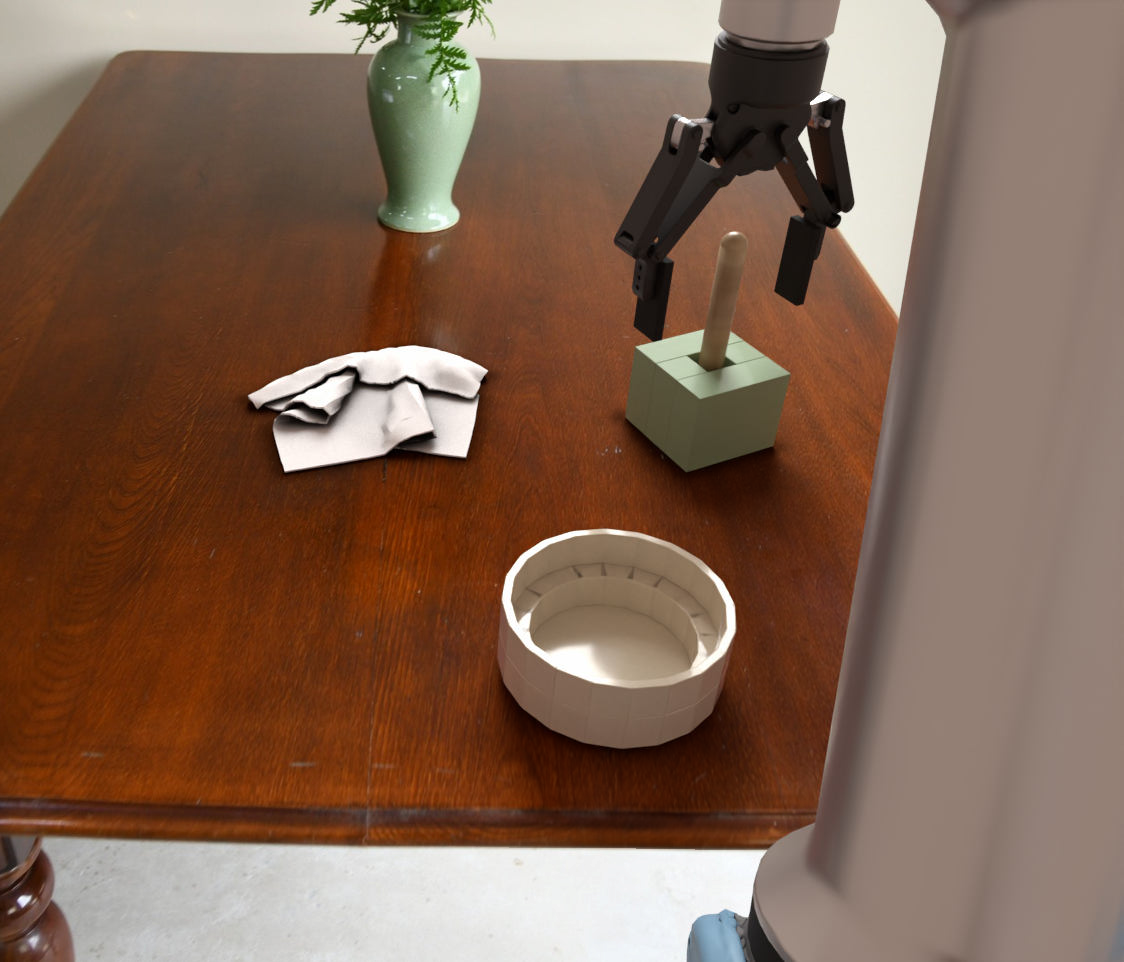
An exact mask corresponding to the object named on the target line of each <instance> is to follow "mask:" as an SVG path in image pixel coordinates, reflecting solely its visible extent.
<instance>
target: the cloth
mask: <svg viewBox="0 0 1124 962" xmlns="http://www.w3.org/2000/svg"><path fill="white" fill-rule="evenodd" d="M488 372H489V370H488V369H486V368H484V367H483V366H481V365H480V364H478V363H475V362H473V361H472V360H470V359H467V358H464V357H462V356H460V355H457V354H454V353H451V352H447V351H442V350H440V349H438V348H433V347H432V348H431V347H425V346H418V345H406V346H398V347H386V348H382V349H379V350H369V351H366V352H364V351H360V352H350V353H348V354H343V355H340V356H336V357H331V358H328V359H326V360H324V361H321V362H319V363H317V364H315V365H311V366H306V367H304V368H301V369H299V370H298V371H296V372H294V373H292V374H289V375H284V376H282V377H279V378H278V379H275V380H273V381H272V382H270V383H268V384H267V385H265V386H264V387H262V388H260V389H258V390H257V391H254V392H252V393H250V394H248V395H247V398H248V399H247V400H249V401H251V402H252V403H253V405H254V407H255V408H256V410H259V409H260V408H261V407H262V406H263V407H265V408H268V409H270V410H274V411H279V412H281V413H279V414H278V415H277V416H276V417H275V418H274V420H273V424H272V432H273V437H274V440H275V441H274V442H275V444H276V448H277V451H278V454H279V458H280V462H281V464H282V467H283V470H284V474H285V473H291V472H292V473H293V472H296V471H303V470H309V469H317V468H323V467H328V466H334V465H340V464H346V463H352V462H357V461H362V460H368V459H373V458H377V457H382V456H386V455H387V454H388V453H390V451H392V450H393V449H396V450H401V451H402V450H403V451H413V452H420V453H424V454H427V455H428V454H430V455H437V456H443V457H452V458H460V459H467V455H468V452H469V448H470V444H471V440H472V436H473V431H474V427H475V423H476V418H477V411H478V410H477V409H478V406H479V405H478V404H479V400H480V394H479V393H478V392H479V389H480V387H481V381H482V380H483V378H484V376H486V375H487V373H488ZM297 403H303V404H301V405H299V406H298V407H296V408H293V409H289V408H291V407H292V406H294V405H296V404H297ZM288 409H289V410H288ZM286 410H287V411H286Z"/></svg>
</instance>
